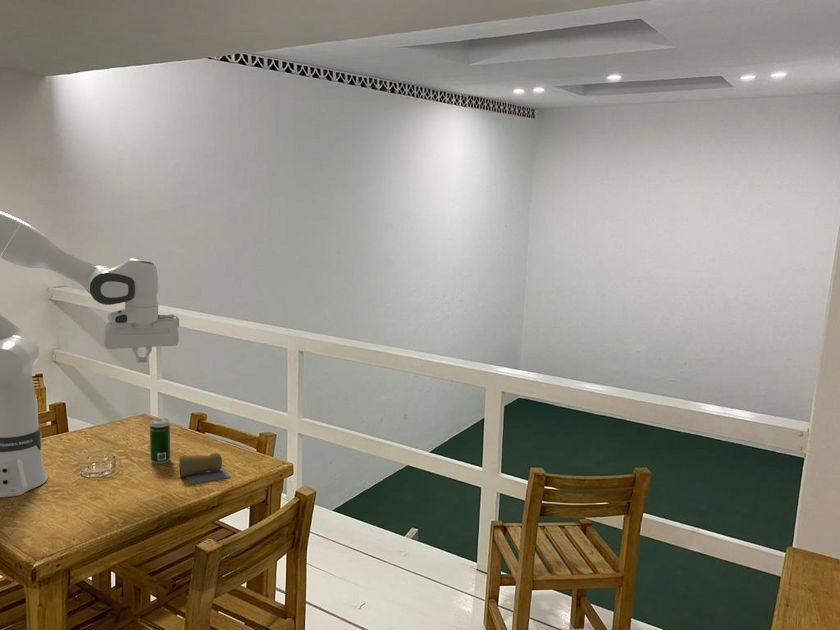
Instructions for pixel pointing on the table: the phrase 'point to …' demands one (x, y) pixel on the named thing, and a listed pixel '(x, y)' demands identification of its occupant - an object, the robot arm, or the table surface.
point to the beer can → (160, 441)
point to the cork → (199, 464)
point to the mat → (207, 476)
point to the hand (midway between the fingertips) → (141, 362)
